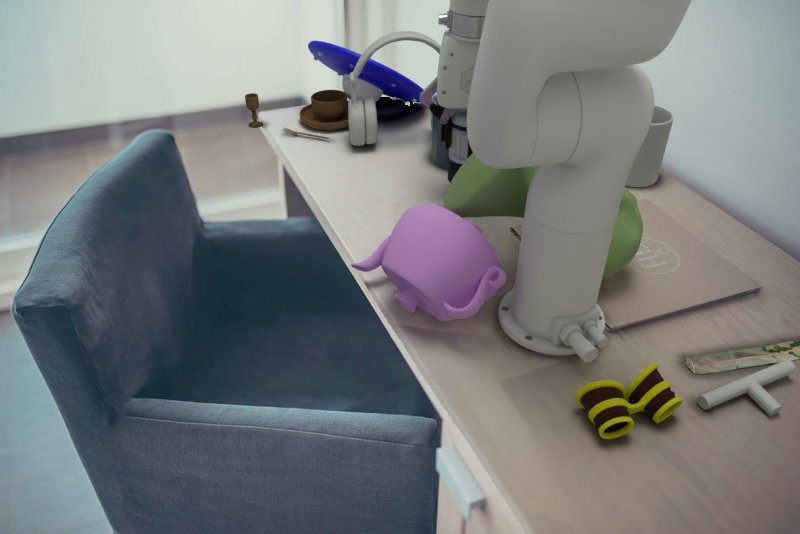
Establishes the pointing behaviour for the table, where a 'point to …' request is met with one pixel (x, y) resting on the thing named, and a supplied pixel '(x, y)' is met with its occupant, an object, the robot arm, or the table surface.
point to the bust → (506, 196)
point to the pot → (438, 145)
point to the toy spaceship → (365, 74)
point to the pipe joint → (751, 388)
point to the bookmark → (744, 358)
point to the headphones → (365, 110)
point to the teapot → (438, 263)
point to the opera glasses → (613, 409)
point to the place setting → (313, 111)
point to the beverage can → (458, 143)
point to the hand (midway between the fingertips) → (468, 144)
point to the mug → (651, 150)
